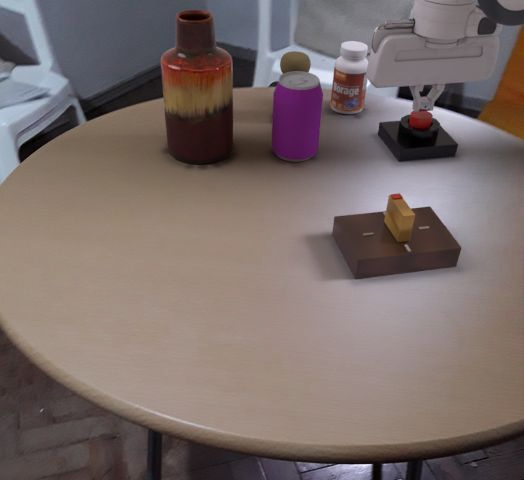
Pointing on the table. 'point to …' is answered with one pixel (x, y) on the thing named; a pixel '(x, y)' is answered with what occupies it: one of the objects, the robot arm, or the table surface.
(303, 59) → the cork
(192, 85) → the vase
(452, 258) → the plate
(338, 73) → the pill bottle
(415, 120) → the bell button
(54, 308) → the table surface
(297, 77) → the beverage can
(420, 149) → the box
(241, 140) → the table surface
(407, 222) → the thumb turn
